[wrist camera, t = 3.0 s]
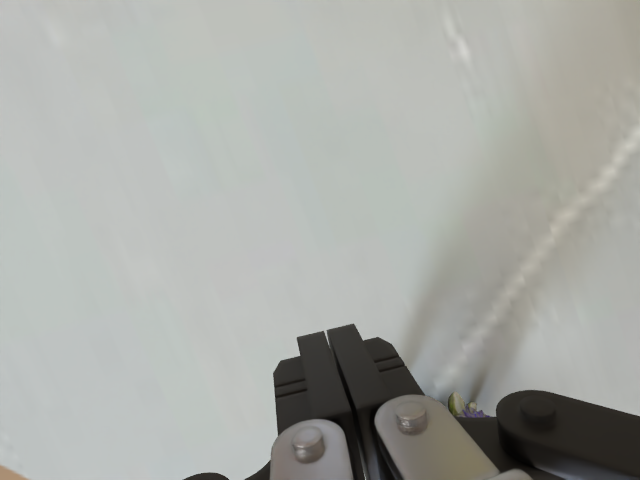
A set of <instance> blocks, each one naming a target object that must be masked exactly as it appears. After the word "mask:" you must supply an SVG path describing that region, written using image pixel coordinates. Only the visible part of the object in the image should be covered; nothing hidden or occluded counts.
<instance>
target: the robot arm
mask: <svg viewBox="0 0 640 480" xmlns="http://www.w3.org/2000/svg"><path fill="white" fill-rule="evenodd" d="M327 336H328V341H329V345H328V342H327V339H326V336H325V333H324V331H321V332H317V333H313V334H309V335H304V336H300V337H297V341H298V346H299V351H300V356H298V357H294V358H290V359H286V360H282V361H280V363H279V364H278V366H277V368H276V370H275V371H274V373H273V377H274V387H275V388H274V389H275V402H276V415H277V428H278V437H277V438H276V440H275V442H274V443H273V446H272V450H271V460H270V461H269V462H268V463H267V464H266V465H265V466H264V467H263V468H262V469H261V470H259V471H258V472H257V473H255V474H254V475H252V476H250V477H248V478H247V479H245V480H365V477H366V480H640V416H636V415H633V414H629V413H625V412H621V411H618V410H614V409H610V408H607V407H603V406H599V405H595V404H592V403H588V402H584V401H580V400H577V399H573V398H569V397H566V396H562V395H558V394H554V393H550V392H546V391H539V390H525V391H518V392H515V393H511V394H509V395H507V396H505V397H504V398H503V399H502V400H501V401H500V402H499V403H498V405H497V408H496V417H475V418H471V417H458V416H454V415H452V414H451V413H450V412H449V410H448V409H447V408H446V407H445V406H444V405H443V404H442V403H441V402H439V401H438V400H436V399H434V398H431V397H428V396H425V395H424V393H423V392H422V390H421V389H420V387H419V385H418V384H417V382H416V381H415V379H414V378H413V376H412V375H411V373H410V372H409V370H408V369H407V367H406V366H405V364H404V362H403V361H402V359H401V358H400V357H399V355H398V353H397V352H396V350H395V348H394V347H393V345H392V344H390V343H388V342H387V341H385V340H383V339H381V338H379V337H376V338H372V339H368V340H364V341H363V340H362V338H361V336H360V334H359V332H358V330H357V328H356V326H355V325H354V324H350V325H346V326H342V327H338V328H333V329H329V330H327ZM329 346H330V348H329ZM363 471H364V472H363ZM364 474H365V477H364ZM184 480H229V479H228V478H226V477H225V476H223V475H221V474H218V473H201V474H196V475H193V476H190V477H188V478H186V479H184Z"/></svg>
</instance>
